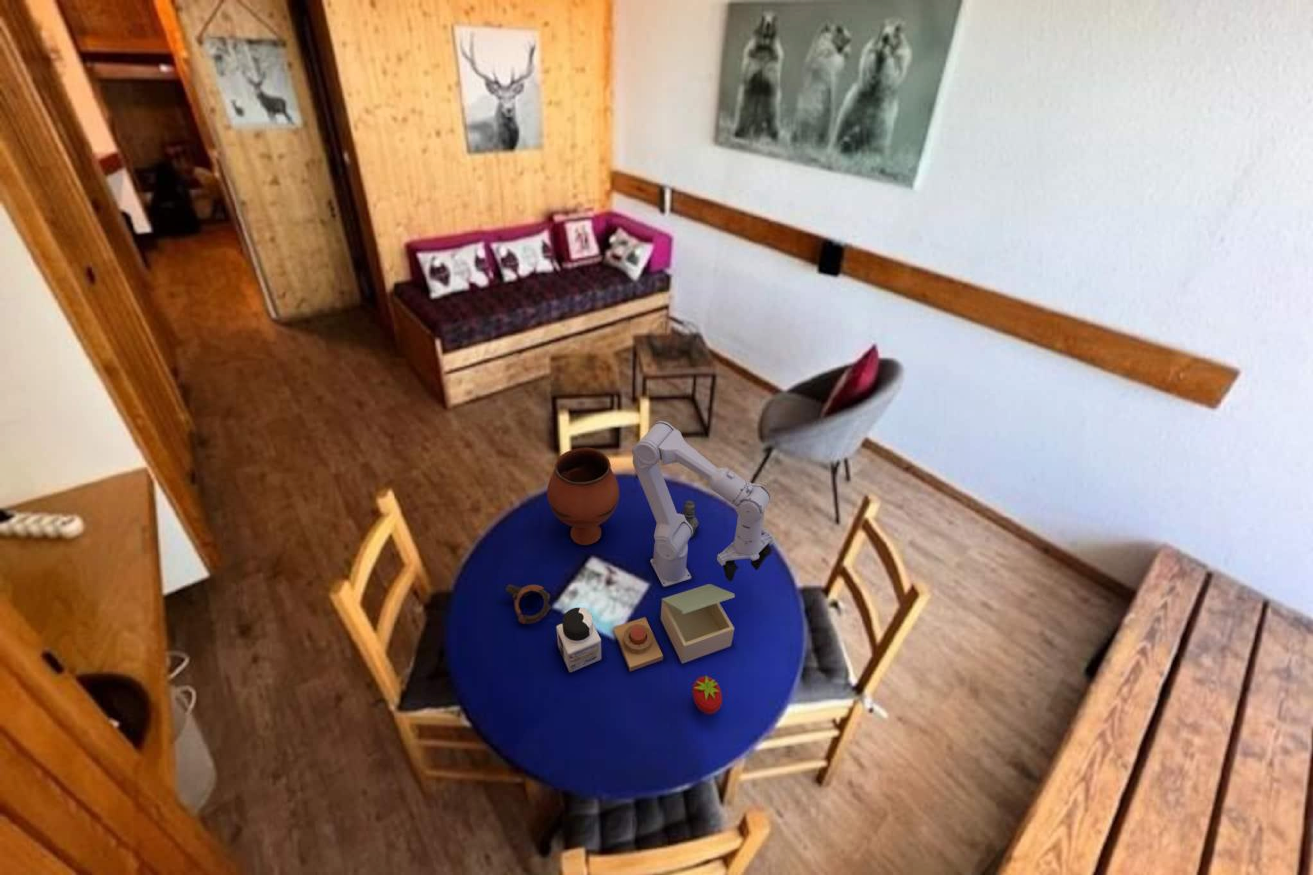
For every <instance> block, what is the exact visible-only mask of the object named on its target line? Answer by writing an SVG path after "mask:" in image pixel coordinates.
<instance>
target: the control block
mask: <svg viewBox="0 0 1313 875" xmlns="http://www.w3.org/2000/svg"><path fill="white" fill-rule="evenodd" d="M636 626H640V627H643V628H644V629H645V631H646V639H645V641H644V642H643V643H642V644H634V643H633V642H632V641H631V640H630V631H631V629H632V628H634V627H636ZM613 633H614V636H615V639H616V641H617V643H618V646H619V648H620V650H621V654H622V656H623V658H624V661H625V664H626V666H627V669H628V671H629V672H632V671H636V670H638V669H641V668H645V667H646V666H649V665H652V664H655V663H658V662H661V661H663V660H664V654H663V653H662V650H661V649H660V646H659V644H658V641H657V639H656V638H655V635H654V633H653V631H652V629H651V627H650V624H649V623H648V620H647V617H646V616H644V617H641V618H637V619H635V620H632V621H628V622H625V623H622V624H619V625H616V626H613Z"/></svg>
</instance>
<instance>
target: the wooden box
mask: <svg viewBox="0 0 1313 875" xmlns="http://www.w3.org/2000/svg"><path fill="white" fill-rule="evenodd" d="M660 621H661V623H662V625H663V627H664V630H665V631H666V633H667V636H668V638H669V640H670V642H671V644H672V646H673V648H674V650H675V652H676V654H677V656H678V658H679V660H680V663H681V664H685V663H688V662H691V661H693V660H696V659H698V658H702V657H704V656H706V655H711V654H712V653H715V652H718V651H721V650H724V649H727V648H729V647H731V646H732V642H733V639H734V633H735V626H734V625H733V624H732V622H731V620H730V618H729V617H728V615H727V613H726V612H725V610H724V608H723V607H722V604H721V602H719V603H716V604H713V605H710V606H707V607H704V608H700V609H697V610H694V611H691V612H688V613H685V614H682V613H680V612H678V611H677V610H675V609H673V608H672V607H670V606H668V605H667V604H665V603H663V602H662V601H661V610H660Z"/></svg>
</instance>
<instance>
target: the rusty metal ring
mask: <svg viewBox="0 0 1313 875" xmlns="http://www.w3.org/2000/svg"><path fill="white" fill-rule="evenodd" d="M544 589H545V587H544V586H542V585H539V584H528V585H525V586H523V587H520V586H516V585H513V584H512V583H511V584H508V585H507V586H506V588H505V592H506V593H507V594H509V595H510V596H511V597H512V600H513V602H514V610H515V613H516V615H517V617H518V619H517V621H518V622H519V623H520V624H522V625H531V624H536V623H537V622H540V621H542V619H543V618H545V617H546V616H547V614H548V612H549V611H550V610H551V609H552V606H551V605H550V604H549V601H550V598H551V594H550V593H549V592H547V591H546V590H544ZM533 593H537V594H539V595H540V596H541V597H542V599H543V606H542V608H541V610H540V611H539V612H537V613H535V614H534V615H527V614H523V613H522V611H521V608H520V601H521V598H522V597H527V596H528V595H530V594H533Z"/></svg>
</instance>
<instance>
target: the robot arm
mask: <svg viewBox="0 0 1313 875" xmlns="http://www.w3.org/2000/svg"><path fill="white" fill-rule="evenodd" d="M630 451H631V453H632V465H633V468H634V470H635V472H636V475H637V478H638V480H639V483H640V485H641V488H642V490H643V493H644V495H645V497H646V500H647V502H648V505H649V507H650V510H651V512H652V515H653V517H654V520H655V522H656V524H655V525H656V526H655V530H654V534H653V538H654V545H653V557H652V558H651V559H650V561H649V562H650V565H651V566H652V569H653V570H654V572H655V574H656V576H657V578H658V579H659V581H660V582H659V583H661V586H662V587H663V588H666V587H670V586H673V585H676V584H679V583H683V582H685V581H689V580H691V579H692V575H691V573H690V572H689V570H688V568H687V561H688V560H687V559H688V551H689V546H688V545H689V544H688V543H689V540H690V537H691V538H693V537H692V535H693V529H692V527H691V525H690V524H689V523H688V522H687V520H686V518H685V516H684V515H683V513H678V512H677V510H676V507H675V504H674V502H673V499H672V496H671V494H670V491H669V488H668V485H667V483H666V481H665V478H664V475H663V473H662V470H661V467H660V465H661V466H667V465H671V464H675V463H679V464H680V465H682V466H683V467H685V468H686V469H688V470H690V471H691V472H694V473H695V474H697V476H700V477H702V478H703V479H705V480H707V481H708V484H709V488H710V490H712V491H713V492H714V493H715V494H717V495H719V496H720V497H721V498H722V499H724V500H726V501H727V502H728V503H730V504H731V505H732V506H734V507H735V512H736V514H737V520H736V527H735V533H734V540H733V541H732V542H731V543H730V544H729V545H728V546H727V547H726V548H725V549H724V550H722V551H720V552H718V553H717V557H716V561H717V562H718V563H719V565H720V566H722V568H723V572H724V577H725V578H726V579H727V580H728V582H729V583H731V582H733V580H734V578H735V574H736V571H737V570H738V569H739V568H740V567H739V566H738V565H737V564H736V562H735V561H737V560H745V559H746V560H747V559H750V565H751V566H752V568H754V570H755V571H758V570H759V569H760V567H761V566H762V564H763V562H764V561H765V560H766V559H767V557H769V556H770V555H771V554H772V553H773V550H772V548H771V547H770V546H771V545H773V544H774V537H773V536H772V535H771V533H769V532H767V533H765V534H762V532H763V528H764V521H765V513H766V509H767V507H768V506H769V504H770V501H771V493H770V492H769V491H768V490H767V488H765V487H764V486H763V485H761V484H758V483H752V482H750V481H745V480H744V479H743V478H741V477H740V476H738V475H737V474H736V473H735V472H734V471H733V470H730V469H729V468H727V467H717V466H715V465H714V464H713V463H712V462H710V461H709V460H708V459H707V458H705V456H703V455H702V454H701V453H700V452H698V450H696V449H695V448H694V447H692V446H691V445H690V444H689V443H688V442H686V441H685V439H684V437H683V435H682V433H681V431H680V430H679V429H676V428H675V427H674V426H673V425H671V423H669V422H667V421H664V420H660V421H656V422H655V423H654V424H653V425H652V426H651V427H650V429H649V430H648V431H647V432H646V433H645V434H644V435H643V437H641V439H640V440H639V441H637V442H636V443H635V445H634V446H632V448H630ZM660 461H661V464H660V465H659V462H660Z"/></svg>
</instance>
